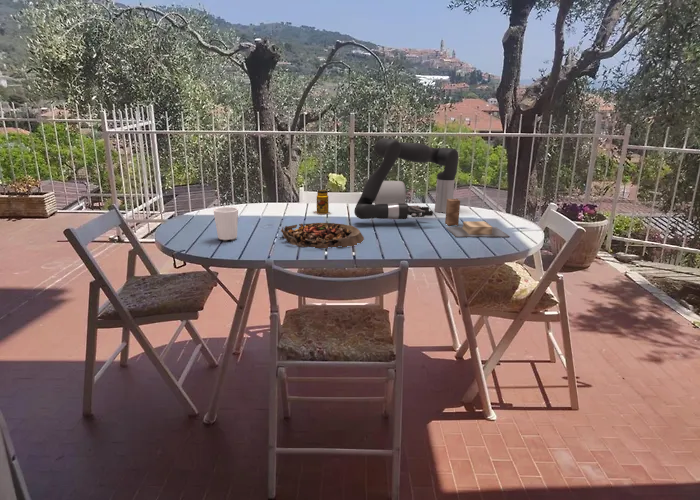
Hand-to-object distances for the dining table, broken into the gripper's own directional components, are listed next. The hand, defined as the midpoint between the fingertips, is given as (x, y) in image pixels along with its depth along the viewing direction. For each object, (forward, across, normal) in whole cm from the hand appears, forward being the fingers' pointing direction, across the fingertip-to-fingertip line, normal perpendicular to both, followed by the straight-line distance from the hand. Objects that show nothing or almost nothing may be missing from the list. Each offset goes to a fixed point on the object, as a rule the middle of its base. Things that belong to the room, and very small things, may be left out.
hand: (430, 211), depth 232 cm
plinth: (+18, -15, +6) cm, 24 cm away
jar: (-18, +37, +7) cm, 41 cm away
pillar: (+11, 0, +6) cm, 12 cm away
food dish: (-52, -24, +7) cm, 57 cm away
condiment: (-51, +26, +7) cm, 57 cm away
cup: (-91, -25, +7) cm, 95 cm away
